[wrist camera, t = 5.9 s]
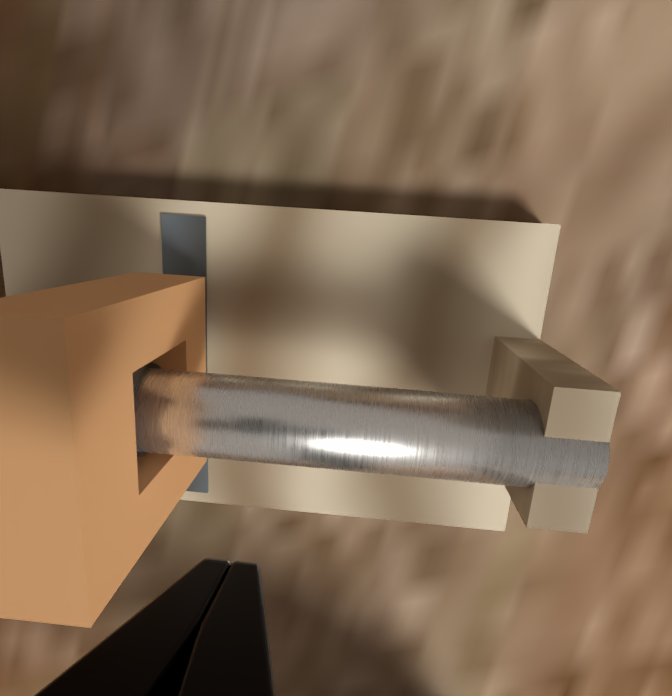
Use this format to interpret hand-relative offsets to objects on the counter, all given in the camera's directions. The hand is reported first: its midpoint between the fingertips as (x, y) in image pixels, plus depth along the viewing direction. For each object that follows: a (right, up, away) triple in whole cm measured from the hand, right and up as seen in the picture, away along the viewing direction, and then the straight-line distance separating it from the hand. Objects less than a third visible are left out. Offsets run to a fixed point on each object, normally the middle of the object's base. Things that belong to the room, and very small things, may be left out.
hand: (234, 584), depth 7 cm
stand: (-1, +3, +12) cm, 12 cm away
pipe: (-1, +2, +7) cm, 8 cm away
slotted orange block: (-4, +3, +10) cm, 11 cm away
